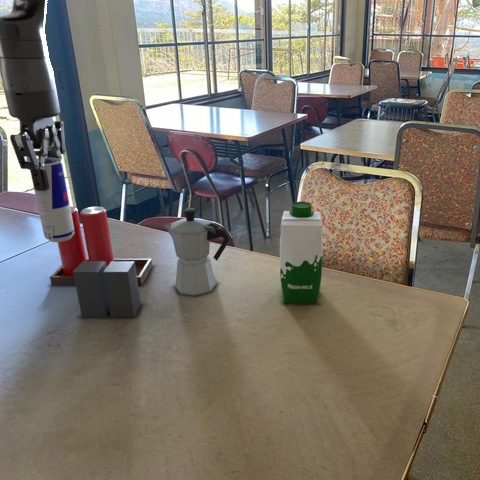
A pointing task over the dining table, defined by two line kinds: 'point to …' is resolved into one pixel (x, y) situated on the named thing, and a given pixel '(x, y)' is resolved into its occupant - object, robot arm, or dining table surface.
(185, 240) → the coffee maker
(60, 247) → the drink can
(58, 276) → the can tray
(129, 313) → the grey block
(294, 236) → the milk carton
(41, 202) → the beverage can
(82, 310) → the grey block
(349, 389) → the dining table surface
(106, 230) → the drink can
